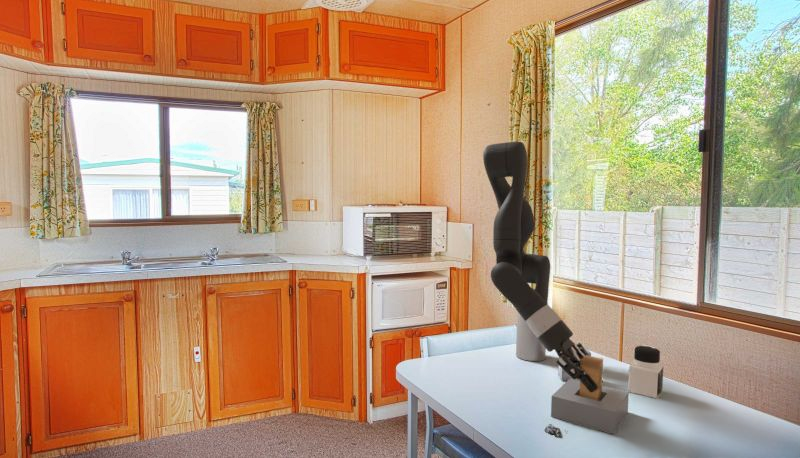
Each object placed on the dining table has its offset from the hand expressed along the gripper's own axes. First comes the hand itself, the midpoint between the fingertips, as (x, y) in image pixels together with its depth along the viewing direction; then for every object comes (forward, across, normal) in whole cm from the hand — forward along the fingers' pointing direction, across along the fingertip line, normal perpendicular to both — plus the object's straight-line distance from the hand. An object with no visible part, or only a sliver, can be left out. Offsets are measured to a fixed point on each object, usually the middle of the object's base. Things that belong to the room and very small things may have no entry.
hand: (597, 386), depth 115 cm
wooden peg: (+3, 0, +5) cm, 6 cm away
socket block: (+4, 0, +6) cm, 7 cm away
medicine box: (-3, +21, +13) cm, 25 cm away
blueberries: (+2, -14, +9) cm, 17 cm away
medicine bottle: (+10, +24, 0) cm, 26 cm away
